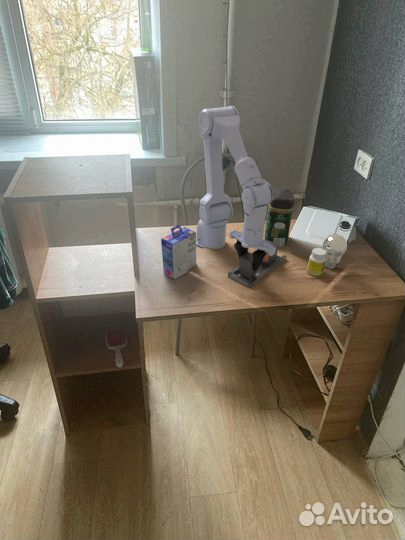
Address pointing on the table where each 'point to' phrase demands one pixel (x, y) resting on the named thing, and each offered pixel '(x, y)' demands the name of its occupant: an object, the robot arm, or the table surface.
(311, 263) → the supplement bottle
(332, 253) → the light bulb
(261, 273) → the rail
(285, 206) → the coffee jar
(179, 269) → the ink cartridge box
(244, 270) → the grey square block
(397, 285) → the table surface
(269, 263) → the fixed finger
